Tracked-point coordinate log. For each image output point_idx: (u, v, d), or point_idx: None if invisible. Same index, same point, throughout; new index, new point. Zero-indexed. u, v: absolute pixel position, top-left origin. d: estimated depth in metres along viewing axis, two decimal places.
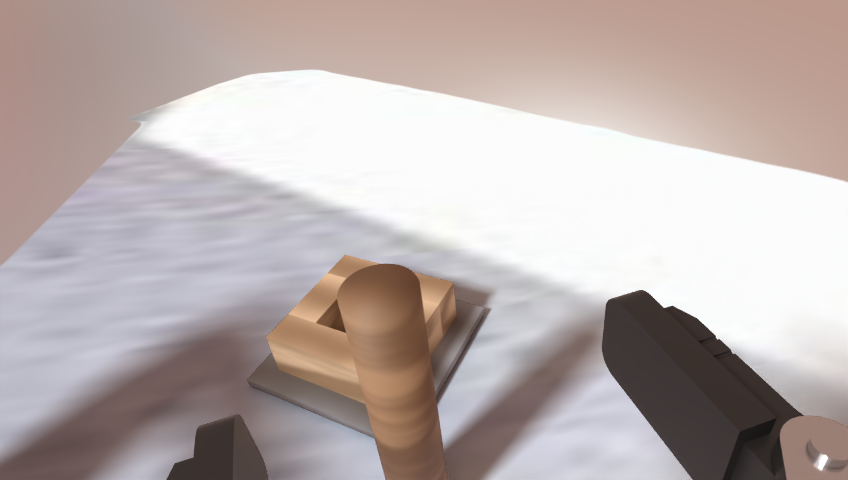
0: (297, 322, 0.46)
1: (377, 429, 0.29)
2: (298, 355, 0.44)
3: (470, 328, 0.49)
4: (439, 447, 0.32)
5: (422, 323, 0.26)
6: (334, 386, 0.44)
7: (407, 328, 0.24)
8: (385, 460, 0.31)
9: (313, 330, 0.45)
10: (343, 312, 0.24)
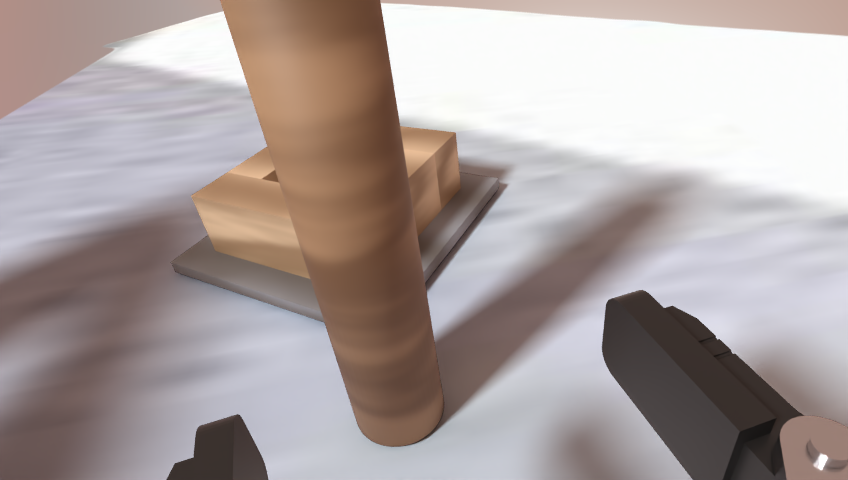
0: (237, 179, 0.33)
1: (299, 223, 0.16)
2: (233, 217, 0.31)
3: (479, 199, 0.35)
4: (418, 283, 0.18)
5: None
6: (284, 262, 0.31)
7: None
8: (323, 299, 0.18)
9: (257, 186, 0.32)
10: None
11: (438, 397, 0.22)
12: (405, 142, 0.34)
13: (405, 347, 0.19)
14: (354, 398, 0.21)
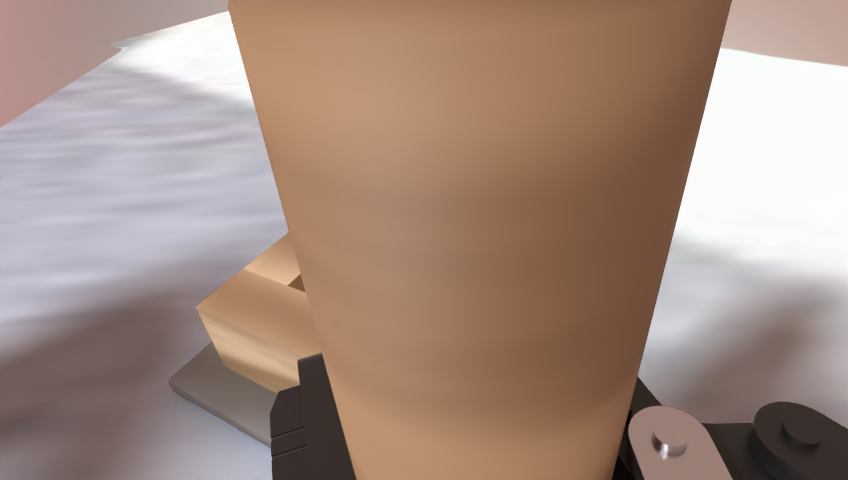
0: (256, 283, 0.25)
1: None
2: (249, 343, 0.23)
3: None
4: None
5: None
6: None
7: (660, 171, 0.04)
8: None
9: (281, 298, 0.24)
10: (246, 36, 0.04)
11: None
12: None
13: None
14: None
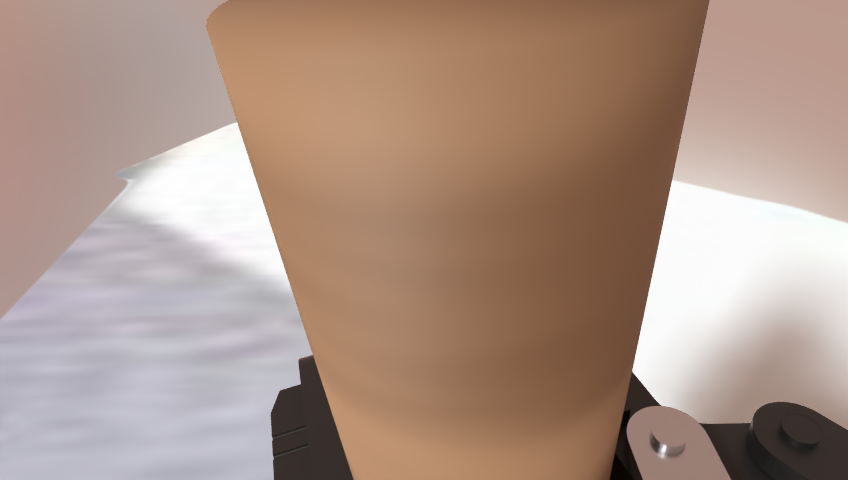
0: None
1: None
2: None
3: None
4: None
5: None
6: None
7: (639, 181, 0.04)
8: None
9: None
10: (222, 55, 0.04)
11: None
12: None
13: None
14: None
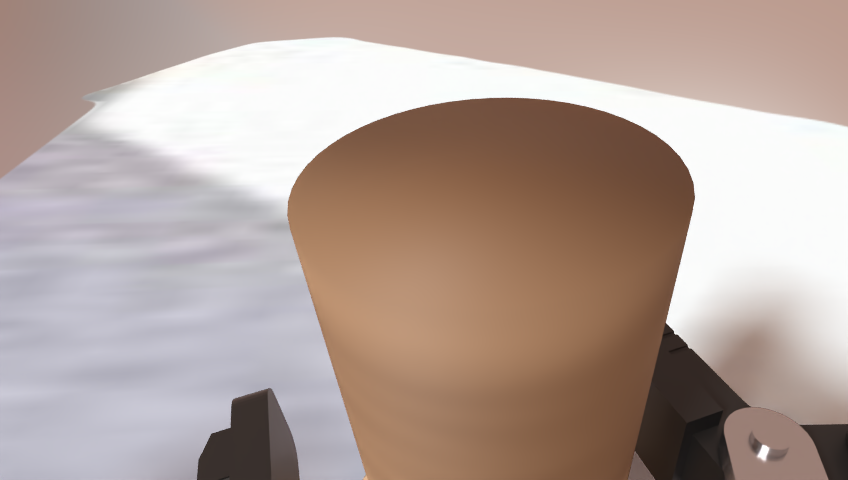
0: None
1: None
2: None
3: None
4: None
5: None
6: None
7: (634, 357, 0.05)
8: None
9: None
10: (308, 263, 0.05)
11: None
12: None
13: None
14: None
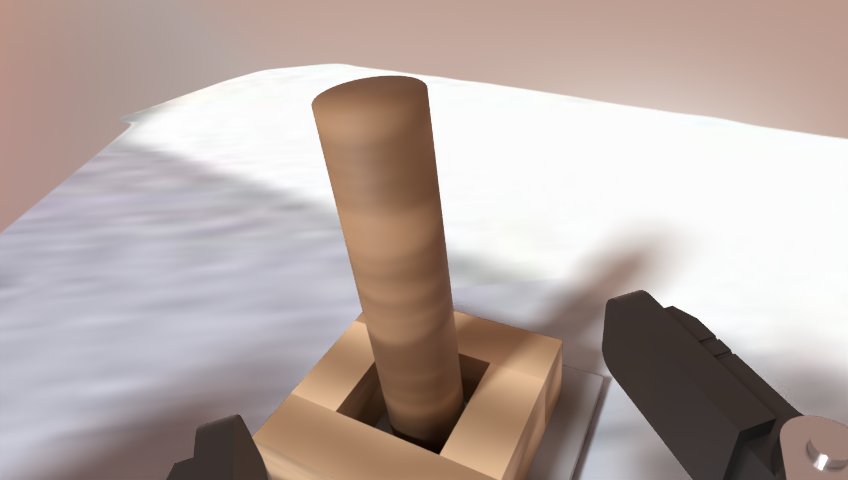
0: (305, 409, 0.27)
1: (371, 317, 0.22)
2: (305, 473, 0.25)
3: (588, 415, 0.30)
4: (454, 356, 0.24)
5: (430, 146, 0.18)
6: None
7: (408, 139, 0.17)
8: (383, 368, 0.24)
9: (332, 426, 0.26)
10: (318, 115, 0.17)
11: None
12: (503, 354, 0.29)
13: (443, 403, 0.25)
14: None
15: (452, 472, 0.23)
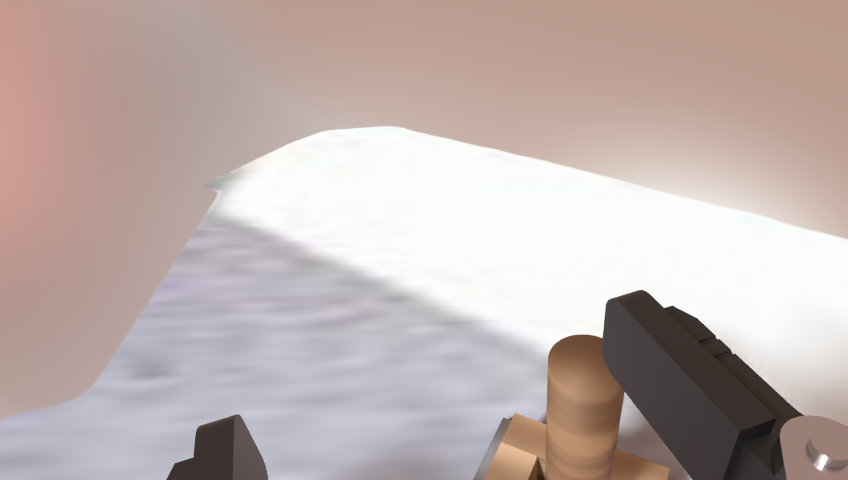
0: None
1: None
2: None
3: None
4: None
5: None
6: None
7: (618, 398, 0.27)
8: None
9: None
10: (560, 383, 0.27)
11: None
12: (626, 479, 0.38)
13: None
14: None
15: None
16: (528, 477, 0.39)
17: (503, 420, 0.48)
